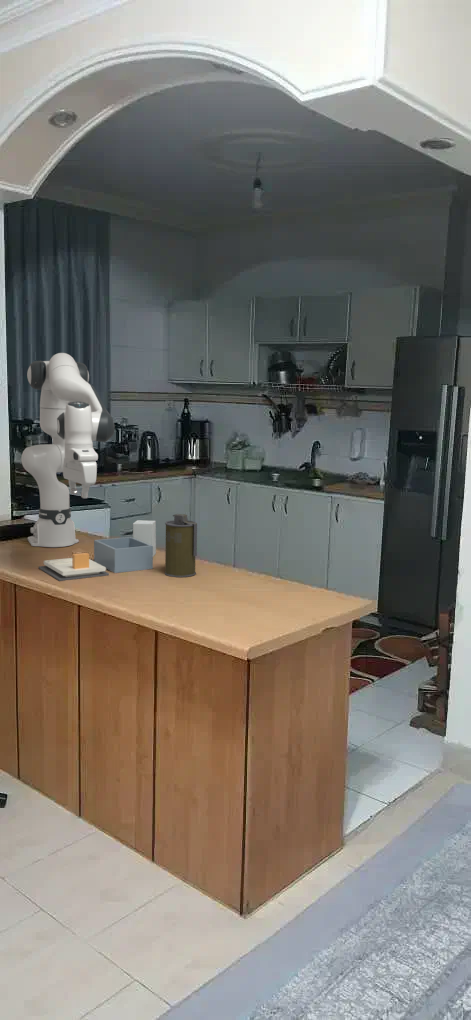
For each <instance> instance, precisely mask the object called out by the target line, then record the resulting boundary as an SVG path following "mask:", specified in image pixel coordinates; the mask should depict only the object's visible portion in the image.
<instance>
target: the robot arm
mask: <svg viewBox="0 0 471 1020" xmlns="http://www.w3.org/2000/svg"><path fill="white" fill-rule="evenodd" d="M26 373H27V375H26V376H27V381H28V383H29V386H30V387H31V389H35V390H38V391H41V392H40V399H39V426H40V429H41V430H42V431H43V432H44V433H45V434H47V435H49V436H50V437H51V439H52V443H50V444H35V445H31V446H27V447H26V448H24V450H23V451H22V454H21V457H20V459H21V465H22V467H23V469H24V470H25V471H26V472H28V473H29V474H30V475H31V476H32V477H33V479H34V480H35V481H36V484H37V486H38V491H39V502H40V503H39V504H40V508H39V511H38V519H37V520H36V522H35V523H34V524H33V527H30V530H29V531H30V533H31V534H33V535H31V536H28V537H27V541H28V542H29V544H30V546H32V547H45V548H62V547H69V546H73V545H75V544H77V543H79V542H80V541H79V539H78V538H76V528H75V522H74V521H73V520H72V519H71V517H72V514H71V513H72V511H71V510H72V509H71V507H70V494H71V495H77V494H78V488H77V484H76V483H78V484H81V488H82V489H81V492H80V497H81V498H82V499H88V498H89V492H90V487H91V486H94V485H95V484H96V482H97V474H98V473H97V470H98V469H97V468H98V467H97V465H98V464H97V462H98V459H99V454H98V453H97V452H96V451H95V448H94V446H93V445H94V444H93V443H94V442H101V443H107V441H109V440H110V439H111V438H112V437H113V436H114V433H115V422H114V419H113V416H112V415H111V414H110V413H109V411H108V410H107V409H106V407H105V404H104V402H103V400H102V399H101V397H100V395H99V393H98V391H97V390H96V388H95V387H94V385H92V383H89V381H90V374H89V370H88V367H87V366H86V364H85V363H83V362H79V361H76V360H75V359H74V357H72V356H71V355H70V354H68V353H66V352H58V353H56V354H53V355H52V356H51V358H50V359H49V360H36V361H35V360H34V361H32V362H31V363H30V364H29V367H28V369H27V372H26ZM96 461H97V462H96ZM57 473H62V475H63V479H65V480H68V485H69V487H68V486H67V485H66V484H65V483H63V482H61V481H59V479H58V476H57ZM69 488H70V489H69Z"/></svg>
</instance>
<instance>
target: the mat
mask: <svg viewBox="0 0 471 1020" xmlns="http://www.w3.org/2000/svg"><path fill="white" fill-rule="evenodd" d="M38 569H39V570H41V571H42V572H44V573H46V574H47V575H49V576H51V578H54V580H57V581H58V582H62V581H71V580H79V579H88V578H96V577H97V578H98V577H104V576H110V573H109V572H106V571H101V572H100V573H99V574H91V575H82V576H73V577H65V576H63V575H61V574H59V573H58V572H56V571H54V570H53V569H51V568H49V567H48V566H46V565H41V566H38Z"/></svg>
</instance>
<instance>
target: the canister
mask: <svg viewBox="0 0 471 1020" xmlns="http://www.w3.org/2000/svg"><path fill="white" fill-rule="evenodd" d="M172 517H173V518H174V519H173V520H168V521H165V522H164V524H165V556H164V557H165V564H164V565H165V569H164V575H165V576H168V577H171V578H188V577H189V578H191V577H193V576H195V575H197V572H196V556H198V547H197V546H198V523H197V522H196V521H194V520H189V519H188V515H187V514H186V513H185V514H183V513H182V514H181V513H176V514H173V515H172Z"/></svg>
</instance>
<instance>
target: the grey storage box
mask: <svg viewBox="0 0 471 1020" xmlns="http://www.w3.org/2000/svg"><path fill="white" fill-rule="evenodd" d="M93 561H94V562H96V563H98V564H100V565H102V566H104V567H106V570H107V571H110V572H113V573H114V574H117V573H118V574H119V573H127V572H135V571H137V572H138V571H144V570H153V568H154V565H153V564H154V556H153V546H152V545H150V544H147V543H145V542H142V541H140V540H137V539H135V538H133V536H132V537H131V536H127V537H125V536H124V537H115V538H103V539H101V538H100V539H94V540H93Z"/></svg>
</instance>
